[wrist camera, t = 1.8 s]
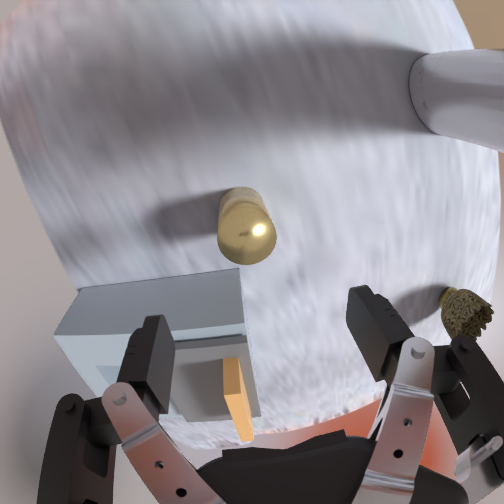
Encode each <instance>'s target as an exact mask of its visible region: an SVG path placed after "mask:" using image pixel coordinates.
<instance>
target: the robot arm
mask: <svg viewBox="0 0 504 504" xmlns="http://www.w3.org/2000/svg"><path fill="white" fill-rule="evenodd" d="M409 89H410V95H411V99H412V102H413V106H414V108H415V110H416V112H417V115H418V116H419V118H420V119H421V121H422V122H423V123H424V124H425V126H426V127H427V128H428V129H430V130H431V131H433V132H434V133H436V134H439V135H442V136H447V137H451V138H455V139H459V140H463V141H466V142H470V143H474V144H477V145H481V146H484V147H487V148H491V149H494V150H497V151H500V152H503V153H504V49H474V50H461V51H450V52H442V53H435V54H428V55H424V56H422V57H420V58H419V59H417V61H416V62H415V63H414V65H413V67H412V70H411V73H410V79H409ZM346 322H347V326H348V328H349V330H350V332H351V334H352V336H353V338H354V340H355V342H356V344H357V346H358V348H359V350H360V351H361V353H362V355H363V357H364V359H365V361H366V363H367V365H368V367H369V369H370V371H371V373H372V375H373V377H374V379H375V382H378V381H381V380H384V379H385V381H386V383H387V385H386V387H385V390H384V394H383V397H382V400H381V403H380V406H379V409H378V412H377V415H376V418H375V421H374V423H373V426H372V428H371V430H370V432H369V434H368V437H367V438H365V437H360V436H346V435H345V432H344V429H343V430H339V431H335V432H331V433H327V434H324V435H319V436H315V437H313V438H311V439H309V440H306V441H304V442H302V443H300V444H297V445H295V446H293V447H290V448H288V449H267V448H256V447H250V448H240V449H227V450H222V457H220V458H217V459H214V460H212V461H210V462H208V463H206V464H205V465H203V466H202V467H200V468H199V469H197V468H196V467H195V466H194V465H193V464H192V463H191V462H190V460H189V459H188V458H187V457H186V456H185V455H184V454H183V453H182V452H181V450H180V449H179V448H178V447H177V445H176V444H175V443H174V442H173V440H172V439H171V438H170V437H169V435H168V434H167V433H166V431H165V430H164V429H163V427H162V426H161V425H160V423H159V414H168V410H169V401H170V392H171V383H172V375H173V367H174V359H175V343H174V339H173V336H172V334H171V331H170V329H169V326H168V324H167V321H166V318H165V316H164V315H163V314H161V315H150V316H146V317H145V320H144V323H143V327H142V328H137V329H136V330H135V331H134V332H133V334H132V335H131V336H130V338H129V341H128V344H127V348H126V351H125V355H124V357H123V360H122V364H121V367H120V371H119V374H118V378H117V381H116V383H114V384H112V385H110V386H109V387H108V388H107V389H106V390H105V391H104V393H103V395H102V397H98V398H94V399H90V400H86V401H84V400H83V399H82V398H81V397H80V396H79V395H77V394H68V395H65V396H64V397H62V398H61V399H60V401H59V402H58V404H57V407H56V410H55V413H54V417H53V420H52V424H51V428H50V432H49V436H48V440H47V445H46V449H45V454H44V459H43V464H42V470H41V475H40V482H39V488H38V496H37V504H113V482H114V468H115V456H116V445H117V444H122V443H123V444H122V449H123V451H124V453H125V454H126V456H127V457H128V459H129V461H130V462H131V464H132V466H133V467H134V469H135V470H136V472H137V473H138V475H139V476H140V478H141V479H142V481H143V482H144V484H145V485H146V486H147V488H148V489H149V491H150V492H151V493H152V495H153V496H154V497H155V499H156V500H157V501H158V503H159V504H476V503H477V502H478V501H480V500H481V499H483V498H484V497H485V496H487V495H488V494H490V493H491V492H492V491H494V490H495V489H496V488H498V487H500V486H502V485H504V382H503V381H502V379H501V378H500V376H499V375H498V373H497V371H496V370H495V368H494V367H493V365H492V364H491V362H490V361H489V360H488V358H487V357H486V355H485V354H484V352H483V351H482V350H481V348H480V347H479V346H478V344H477V343H476V341H475V340H474V339H473V338H471V337H469V336H467V335H457V336H455V337H454V338H453V339H452V341H451V343H450V345H443V346H433V345H432V344H431V343H430V342H429V341H427V340H426V339H424V338H420V337H415V336H414V334H413V333H412V332H411V330H410V329H409V327H408V326H407V325H406V323H405V322H404V321H403V319H402V318H401V317H400V315H398V313H397V311H396V310H395V309H394V308H393V306H392V305H391V303H390V302H389V301H388V299H386V298H384V297H383V296H381V295H380V294H375V295H374V293H373V292H372V290H371V289H370V288H369V287H368V286H367V285H362V286H357V287H352V288H350V289H349V294H348V303H347V311H346ZM460 382H462V384H463V385H464V387H465V389H466V391H467V392H468V394H469V396H470V399H469V398H468V396H467V394H466V392H465V390H464V389H463V387H462V385H461V383H460ZM433 401H434V402H435V404H436V406H437V408H438V410H439V412H440V414H441V416H442V419H443V421H444V423H445V425H446V427H447V430H448V432H449V434H450V436H451V439H452V441H453V443H454V446H455V448H456V451H457V453H458V458H457V460H456V464H455V469H454V474H455V476H456V480H452V479H450V478H448V477H445V476H443V475H441V474H439V473H436V472H434V471H432V470H430V469H428V468H426V467H424V466H422V465H420V464H419V463H420V460H421V456H422V452H423V449H424V444H425V441H426V437H427V432H428V428H429V423H430V418H431V413H432V407H433Z"/></svg>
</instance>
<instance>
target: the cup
mask: <svg viewBox="0 0 504 504" xmlns="http://www.w3.org/2000/svg"><path fill="white" fill-rule="evenodd" d="M439 305H440V308H441V309H442V311H441V319H442V322H443V325H444V327H445V329H446V331H447V333H448V334H449V336H450V338H451V339H453V338H454V337H455V336H457V335H467V336H469V337H471V338H473V339H474V340H475V341H476V340H477V338H476V337H480V336H481V329H480V328H482V329H484V330H486V325H485V323H489V322H491V321H492V316H491V314H493V313H494V311H493V310H492V309H491V308H490V306H491V305H490V304H489V303H487V302H486V301H485V300H484V299H482V298H481V297H479V296H478V295H477V294H475V293H474V292H472V291H470V290H467V289H460V290H457V289H456V288H453V287H450V288H448V289H446V290H445V291H444V292H443V293H442V295H441V296H440V299H439ZM491 307H492V306H491Z"/></svg>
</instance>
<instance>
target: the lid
mask: <svg viewBox="0 0 504 504" xmlns="http://www.w3.org/2000/svg"><path fill="white" fill-rule="evenodd" d="M170 396H171V398H172V399H173V401H174V403H175V404H176V406H177V407H178V409H179V411H180V412H181V414H182V415H183V417H184V418H185V420H186V421H187V422H205V421H221V420H233V421H234V424H235V426H236V429H237V432H238V434H239V437H240V439H241V441H242V442H243V441H253V440H254V434H253V425H252V417H260V416H261V412H260V406H259V401H258V396H257V390H256V385H255V379H254V374H253V368H252V363H251V357H250V352H249V346H248V340H247V335H244V336H236V337H228V338H219V339H210V340H200V341H189V342H176V343H175V359H174V367H173V375H172V383H171V392H170Z"/></svg>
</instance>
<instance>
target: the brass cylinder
mask: <svg viewBox="0 0 504 504" xmlns="http://www.w3.org/2000/svg"><path fill="white" fill-rule="evenodd" d="M276 239H277V235H276V230H275V227H274V225H273V223H272V220H271V218H270V216H269V213H268V211H267V209H266V207H265V204H264V202H263V200H262V198H261V196H260V195H259V194H258V193H257V192H256V191H255V190H253V189H251V188H248V187H236V188H233V189H231V190H229V191H228V192H227V193H226V194H225V195H224V196H223V197H222V199H221V201H220V205H219V218H218V235H217V241H218V246H219V249H220V251H221V252H222V254H223V255H224V256H225V257H226V258H227V259H228V260H230V261H232V262H234V263H237V264H241V265H251V264H255V263H258V262H260V261H262V260H264V259H265V258H267V257H268V256H269V255H270V253H271V252H272V251H273V249H274V247H275V244H276Z"/></svg>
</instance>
